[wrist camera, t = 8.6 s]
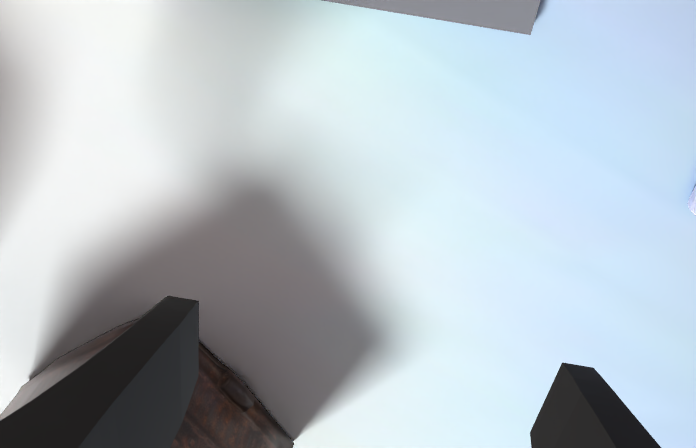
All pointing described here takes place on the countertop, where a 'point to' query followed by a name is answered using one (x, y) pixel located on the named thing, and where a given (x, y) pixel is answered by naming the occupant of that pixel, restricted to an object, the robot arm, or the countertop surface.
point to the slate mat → (463, 11)
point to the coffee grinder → (204, 407)
